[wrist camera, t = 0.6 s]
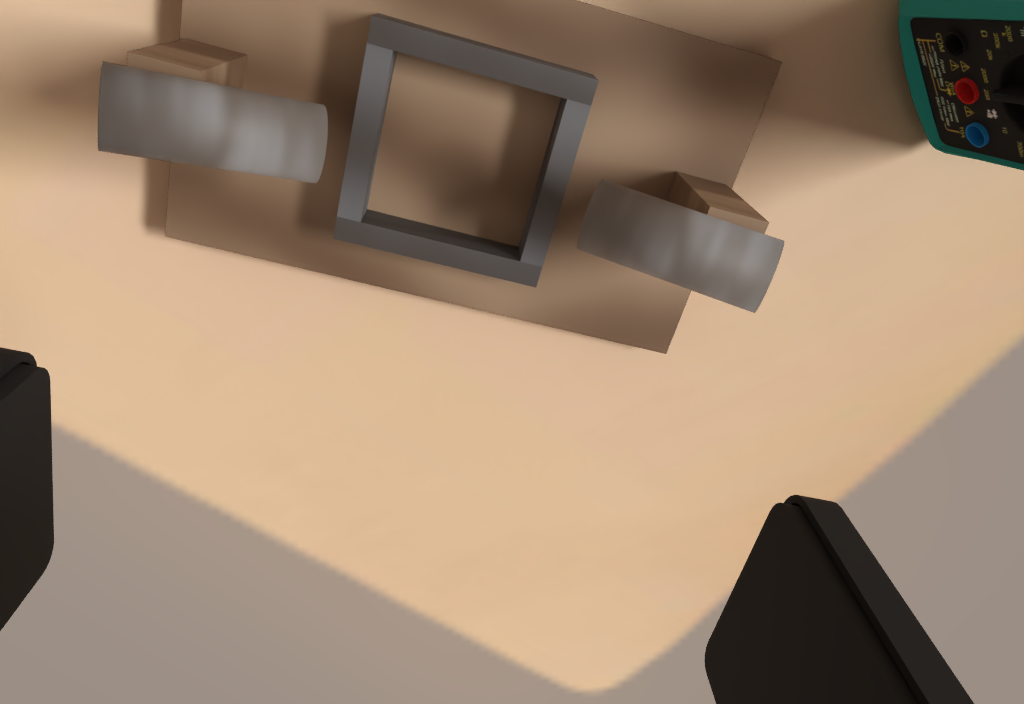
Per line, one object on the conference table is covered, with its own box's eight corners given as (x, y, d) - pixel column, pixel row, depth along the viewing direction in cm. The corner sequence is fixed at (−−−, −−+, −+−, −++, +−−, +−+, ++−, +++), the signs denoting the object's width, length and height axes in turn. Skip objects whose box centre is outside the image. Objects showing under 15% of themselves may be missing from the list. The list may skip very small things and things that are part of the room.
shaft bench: (197, -114, 30) (69, -152, 21) (775, 60, 33) (885, 92, 24) (171, 225, 36) (63, 311, 26) (664, 342, 39) (719, 454, 30)
